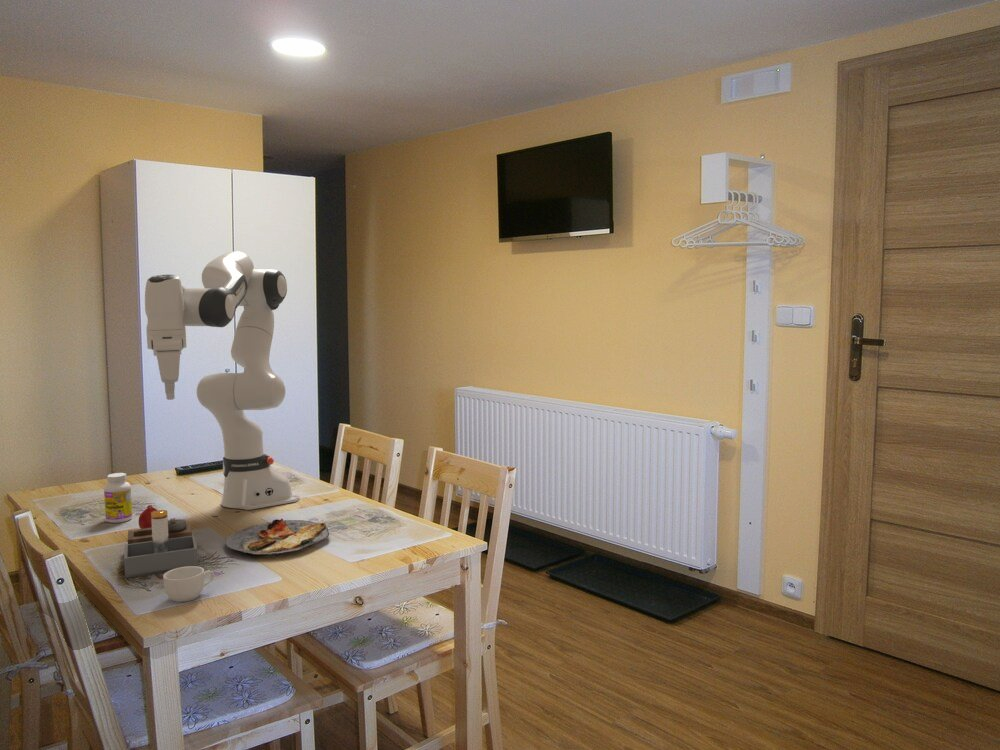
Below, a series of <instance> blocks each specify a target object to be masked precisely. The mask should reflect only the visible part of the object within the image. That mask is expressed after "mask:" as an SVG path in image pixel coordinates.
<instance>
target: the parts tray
mask: <svg viewBox="0 0 1000 750" xmlns="http://www.w3.org/2000/svg"><path fill="white" fill-rule="evenodd" d="M196 541H197V540H196V536H195V535H192V536H186V537H178V538H171V539H169V552H162V553H155V554H153V542H152V541H148V542H140V543H133V544H128V543H126V544H125V545H124V552H123V553H124V556H123V563H124V566H123V567H124V578H125V579H129V578H135V577H136V578H137V577H143V576H150V575H157V574H158V575H159V574H165V573H166V572H168V571H170V570H172V569H176V568H180V567H186V566H198V567H199V555H198V546H197V542H196Z"/></svg>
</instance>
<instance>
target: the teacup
mask: <svg viewBox="0 0 1000 750" xmlns="http://www.w3.org/2000/svg"><path fill="white" fill-rule="evenodd" d="M208 574H210V575H211V578H210V579H209V580H207V581H206V582H205V578H206V576H207V575H208ZM162 577H163V587H164V591H165V594H166V595H167V597H168V598H169V599H170V600H171V601H174V602H176V603H185V602H190V601H193V600H195V599H197V597H199V596H200V595H201V594H202V591H203V590H204V587H205V586H207V585H209V584H210V583H212V581H213V580H214V578H215V574H214V572H213V571H212V570H205V569H204V567H202V566H199V565H198V566H186V567H180V568H176V569H172V570H170V571H168V572H165V573H163V576H162Z"/></svg>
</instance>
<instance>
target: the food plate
mask: <svg viewBox="0 0 1000 750" xmlns="http://www.w3.org/2000/svg"><path fill="white" fill-rule="evenodd" d="M329 535H330V533H329V529H328V527H327V525H326V523H324V522H322V523H321V522H320V523H318V522H314V521H311V520H302V519H297V520H295V519H292V520H291V519H286V520H284V518H281V519H273V520H272V521H270V522H266V523H260V524H254V525H252V526H249V527H246V528H243V529H241V530H239V531H236V532H234V533H231V534H230V535H228V536H227V537H226V538H225V540H224V543H225V545H226V547H227V548H229V549H231V550H233V551H238V552H241V553H245V554H247V553H248V554H252V555H268V556H270V555H271V556H277V555H279V554H282V553H287V552H294V551H299V550H301V549H304V548H306V547H308V546H311V545H314V544H316V543H318V542H320V541H322V540H325V539H326V538H327V537H329ZM248 543H249V544H248ZM245 546H247V548H246V549H245ZM259 551H260V552H259Z"/></svg>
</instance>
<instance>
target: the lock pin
mask: <svg viewBox="0 0 1000 750" xmlns="http://www.w3.org/2000/svg"><path fill="white" fill-rule="evenodd" d="M168 515H169V514H168V510H166V509H157V511H153V512H151V521H152V542H153V554H155V553H162V552H169V536H168V520H169V519H168Z"/></svg>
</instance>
